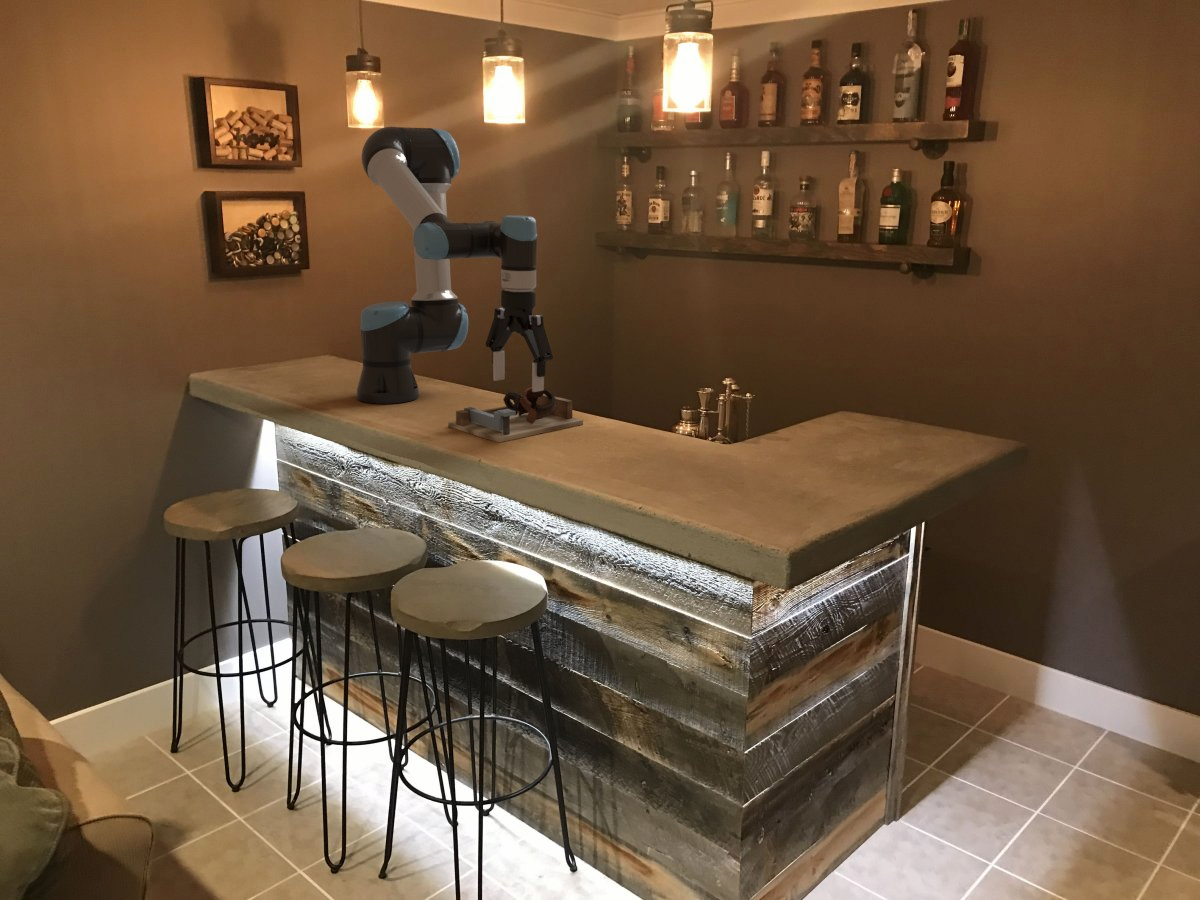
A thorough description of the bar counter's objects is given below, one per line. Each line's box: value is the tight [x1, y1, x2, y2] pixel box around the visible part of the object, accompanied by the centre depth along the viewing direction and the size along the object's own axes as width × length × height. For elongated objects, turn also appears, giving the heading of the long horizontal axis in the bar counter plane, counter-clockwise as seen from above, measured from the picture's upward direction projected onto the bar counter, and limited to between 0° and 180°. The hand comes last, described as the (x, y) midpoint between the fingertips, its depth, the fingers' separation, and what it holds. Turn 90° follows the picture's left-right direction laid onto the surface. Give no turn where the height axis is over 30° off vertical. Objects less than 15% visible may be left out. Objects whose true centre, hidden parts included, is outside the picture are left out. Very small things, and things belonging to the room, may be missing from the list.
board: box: [447, 394, 584, 443], centre depth 216 cm, size 18×24×5 cm
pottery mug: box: [503, 386, 557, 424], centre depth 217 cm, size 12×10×8 cm
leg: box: [463, 406, 516, 431], centre depth 209 cm, size 16×3×4 cm, turn 41°
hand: (518, 385), depth 215 cm, fingers open, 13 cm apart
